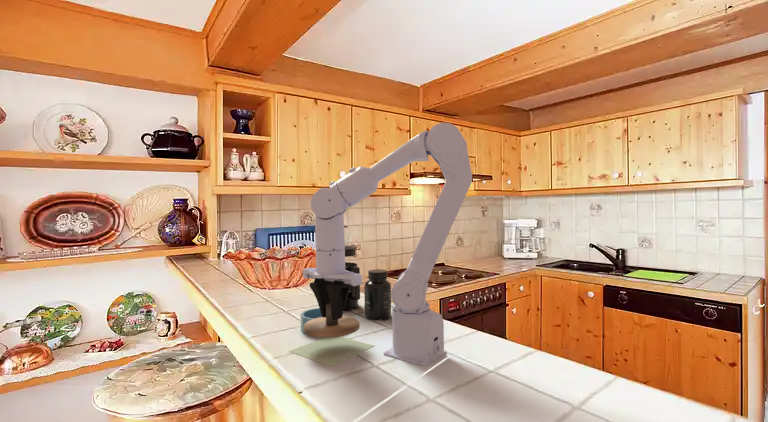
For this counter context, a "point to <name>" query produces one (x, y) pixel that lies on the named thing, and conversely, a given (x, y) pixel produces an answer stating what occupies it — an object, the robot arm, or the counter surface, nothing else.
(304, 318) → the teal bowl
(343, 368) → the counter surface
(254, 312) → the counter surface
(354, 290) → the french press
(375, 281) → the supplement bottle
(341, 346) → the sage mat
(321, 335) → the walnut lid
